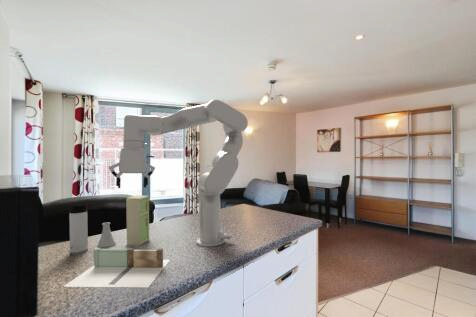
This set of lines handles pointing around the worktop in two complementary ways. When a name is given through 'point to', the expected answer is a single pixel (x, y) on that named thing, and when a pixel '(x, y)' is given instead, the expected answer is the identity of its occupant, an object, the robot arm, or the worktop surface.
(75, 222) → the travel mug
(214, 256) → the worktop surface
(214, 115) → the robot arm
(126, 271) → the card
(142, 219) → the toy refrigerator
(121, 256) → the mint green long bar
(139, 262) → the fixed fence section
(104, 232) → the flask
